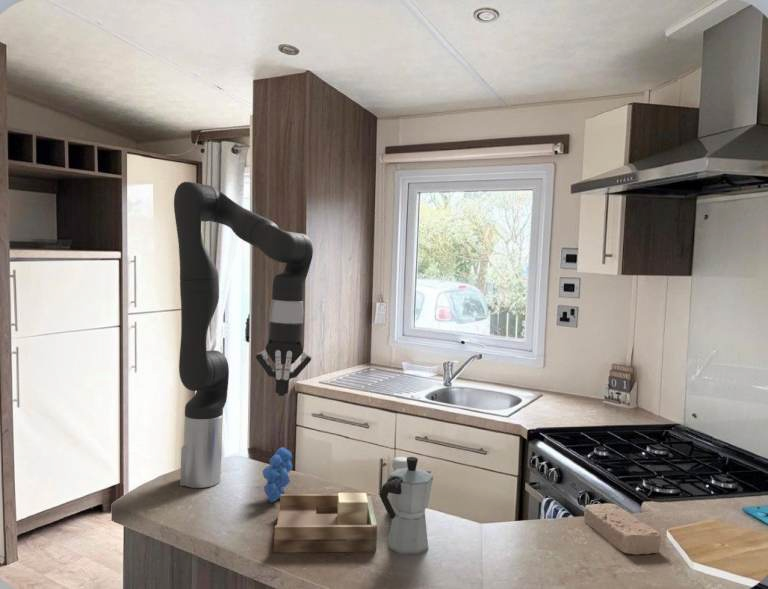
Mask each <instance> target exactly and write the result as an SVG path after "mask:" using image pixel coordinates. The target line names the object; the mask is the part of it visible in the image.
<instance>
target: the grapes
mask: <svg viewBox="0 0 768 589" xmlns="http://www.w3.org/2000/svg"><path fill="white" fill-rule="evenodd" d="M292 459H293V455H292V452H291V451H290V450H289V449H286V448H285V447H284V446H283V447H279V448H278V449H277V450H276V451H275V454H274V455H273V456H271V457H270V459H269V464H270V465H268V466H266V467H265V468H264V469H263V470H262V476H263V478H264V479H265V480H266V482H267V483H266V484H265V485H264V486H263V491H264V494H265V496H267V500H268V501H269V502H270V503H274V502H276V501H277V500H280V495H281V494H286V491H285V487H287V486H288V485H289V484H290V482H291V479H290V476H289V474H288V473H290V472H291V470H292V469H293V468H294V466H293V463H292V461H291V460H292Z"/></svg>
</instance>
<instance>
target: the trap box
mask: <svg viewBox="0 0 768 589" xmlns="http://www.w3.org/2000/svg"><path fill="white" fill-rule="evenodd" d="M366 495H367V500H368V511H367V525H338V519H337V510H338V493H335V494H334V493H332V494H331V493H284V494H281V495H280V498H279V511H278V516H277V522H276V523H277V524H276V525H275V526H274V536H273V537H274V538H273V540H274V541H273V542H274V544H273V553H340V552H341V553H349V552H351V553H353V552H362V553H363V552H377V541H378V540H377V537H378V524H377V520H376V516H375V511H374V507H373V502H372V498H371V494H370V493H369V494H368V493H366Z"/></svg>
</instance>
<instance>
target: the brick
mask: <svg viewBox="0 0 768 589" xmlns="http://www.w3.org/2000/svg"><path fill="white" fill-rule="evenodd" d="M584 510H585V512H584V513H583V516H584V518H583V521H584V523H585V524H587V526H589V527H590V528H592V529H593V530H595V532H596V533H598V534H599V535H600V536H601V537H602V538H604V539H605V540H606V541H608V543H610V544H611V546H613V547H615V548H616V549H617V550H619V551H620V552H622V553H624V554H628V555H629V554H630V555H650V554H658V553H660V549H661V540H662V537H661V533H660V532H658V530H656V529H655V528H653V527H652V526H649V525H647V523H644V522H641V521H640V520H639V519H638V518H636V517H635V516H633V515H632V514H631V513H630V512H629V511H627V510H626V509H623V507H620V506H619V505H618V504H614V503H605V502H604V503H597V504H596V503H594V504H587V505H585V507H584Z"/></svg>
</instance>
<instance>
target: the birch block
mask: <svg viewBox="0 0 768 589" xmlns="http://www.w3.org/2000/svg"><path fill="white" fill-rule="evenodd" d="M337 494H338V510H337V519H338V525H367V511H368V500H367V495H366V494H367V492H338V493H337Z"/></svg>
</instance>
